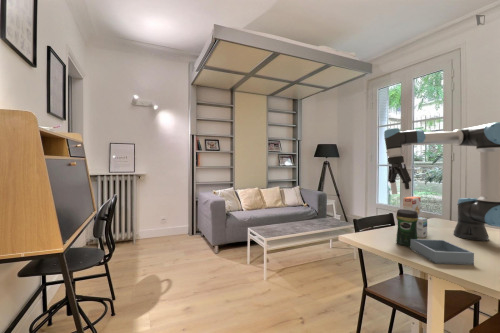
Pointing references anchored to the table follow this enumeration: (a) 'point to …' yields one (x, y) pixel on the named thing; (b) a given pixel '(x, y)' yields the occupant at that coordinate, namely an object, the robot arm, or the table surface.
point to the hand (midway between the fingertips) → (400, 194)
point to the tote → (442, 252)
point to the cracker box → (412, 204)
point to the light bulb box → (422, 227)
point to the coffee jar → (406, 226)
